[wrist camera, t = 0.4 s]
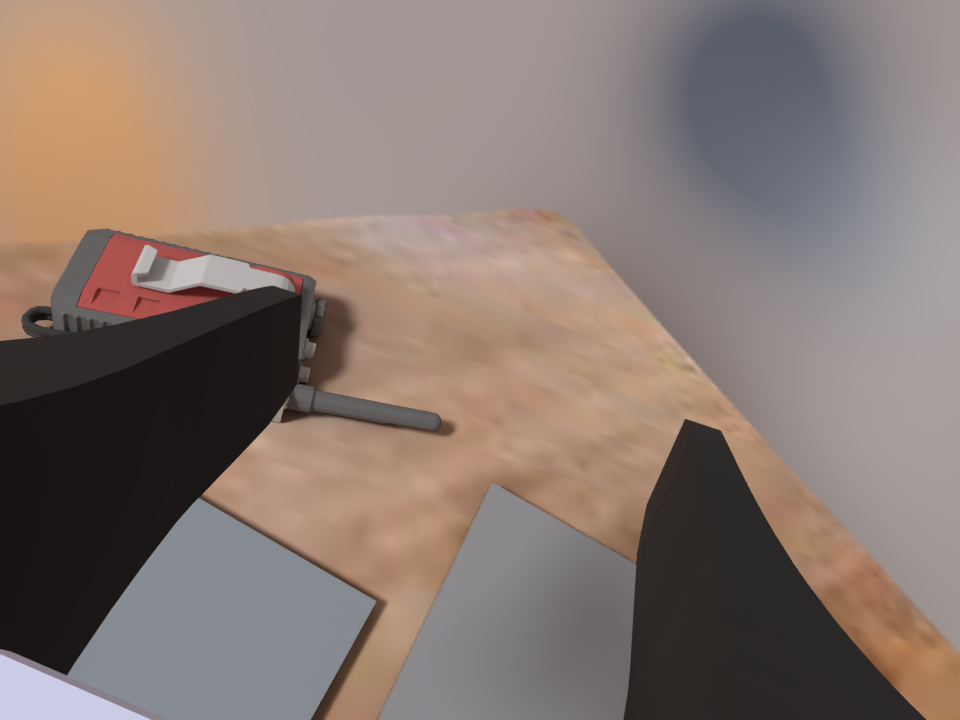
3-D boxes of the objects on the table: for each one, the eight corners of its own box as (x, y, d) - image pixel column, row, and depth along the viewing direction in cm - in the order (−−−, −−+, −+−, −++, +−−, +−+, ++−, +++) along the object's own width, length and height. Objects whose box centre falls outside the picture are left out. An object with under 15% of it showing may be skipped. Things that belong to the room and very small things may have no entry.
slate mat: (183, 946, 21) (185, 945, 20) (-155, 741, 21) (-161, 736, 21) (373, 607, 29) (376, 601, 29) (131, 466, 30) (131, 458, 29)
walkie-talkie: (2, 380, 31) (433, 455, 36) (-12, 311, 28) (460, 404, 33) (73, 256, 37) (433, 336, 42) (67, 188, 34) (456, 284, 39)
